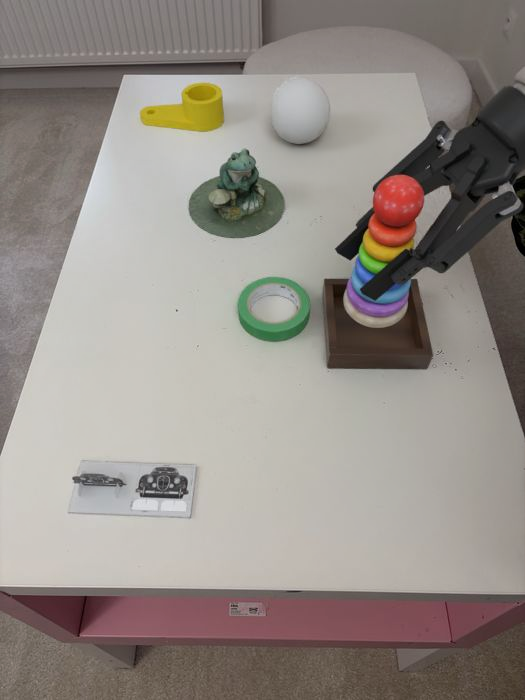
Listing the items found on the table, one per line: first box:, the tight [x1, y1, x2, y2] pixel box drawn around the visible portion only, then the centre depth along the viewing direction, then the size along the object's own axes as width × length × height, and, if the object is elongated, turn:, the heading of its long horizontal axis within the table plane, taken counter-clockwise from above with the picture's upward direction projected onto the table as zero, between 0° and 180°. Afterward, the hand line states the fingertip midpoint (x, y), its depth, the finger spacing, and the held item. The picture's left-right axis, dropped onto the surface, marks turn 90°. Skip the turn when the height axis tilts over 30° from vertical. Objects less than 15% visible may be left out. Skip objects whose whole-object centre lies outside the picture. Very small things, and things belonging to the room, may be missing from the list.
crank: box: [139, 82, 225, 132], centre depth 110 cm, size 18×8×6 cm, turn 87°
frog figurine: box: [188, 147, 286, 239], centre depth 92 cm, size 18×18×12 cm
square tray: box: [321, 278, 434, 370], centre depth 78 cm, size 14×14×4 cm
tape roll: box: [237, 276, 311, 342], centre depth 80 cm, size 11×11×3 cm
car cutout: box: [67, 460, 198, 519], centre depth 63 cm, size 15×7×4 cm, turn 88°
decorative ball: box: [269, 76, 331, 145], centre depth 103 cm, size 12×12×12 cm
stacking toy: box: [343, 175, 425, 328], centre depth 58 cm, size 8×8×19 cm
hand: (354, 274), depth 59 cm, fingers closed on stacking toy, 6 cm apart
